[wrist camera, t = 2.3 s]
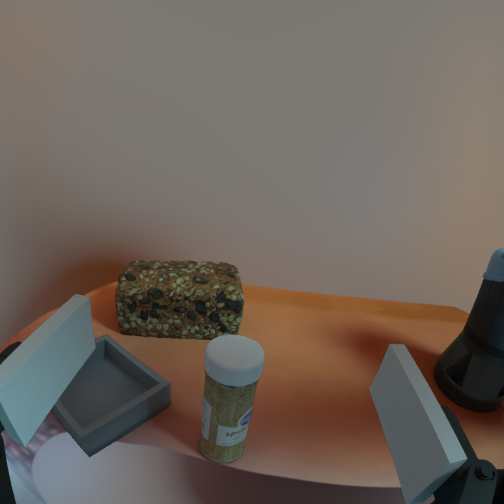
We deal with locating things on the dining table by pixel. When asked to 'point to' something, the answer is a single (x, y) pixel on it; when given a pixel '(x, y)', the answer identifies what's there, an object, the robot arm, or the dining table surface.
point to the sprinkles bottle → (229, 395)
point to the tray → (109, 397)
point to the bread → (179, 299)
